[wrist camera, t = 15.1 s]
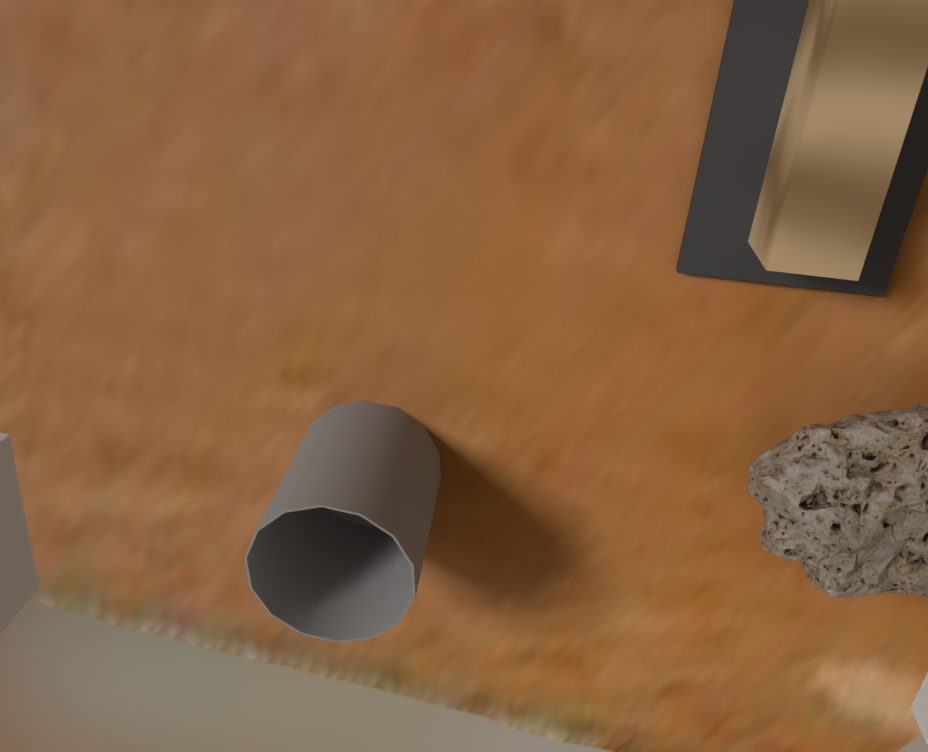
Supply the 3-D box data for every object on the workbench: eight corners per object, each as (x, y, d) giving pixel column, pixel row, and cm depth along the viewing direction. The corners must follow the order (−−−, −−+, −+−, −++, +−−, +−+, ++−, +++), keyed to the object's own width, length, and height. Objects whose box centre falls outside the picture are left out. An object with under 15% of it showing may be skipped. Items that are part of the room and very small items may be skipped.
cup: (465, 495, 50) (445, 615, 41) (347, 538, 52) (304, 660, 43) (396, 379, 47) (359, 481, 38) (274, 431, 49) (212, 538, 40)
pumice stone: (725, 538, 49) (754, 638, 42) (737, 355, 44) (772, 435, 37) (980, 536, 48) (1054, 640, 41) (1024, 345, 42) (1118, 426, 35)
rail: (878, -272, 31) (918, -299, 28) (987, -263, 31) (1042, -289, 28) (748, 241, 41) (766, 270, 37) (831, 251, 40) (858, 280, 37)
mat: (808, -344, 31) (812, -349, 31) (1086, -321, 31) (1095, -326, 30) (676, 268, 42) (677, 272, 42) (879, 292, 42) (883, 296, 41)
